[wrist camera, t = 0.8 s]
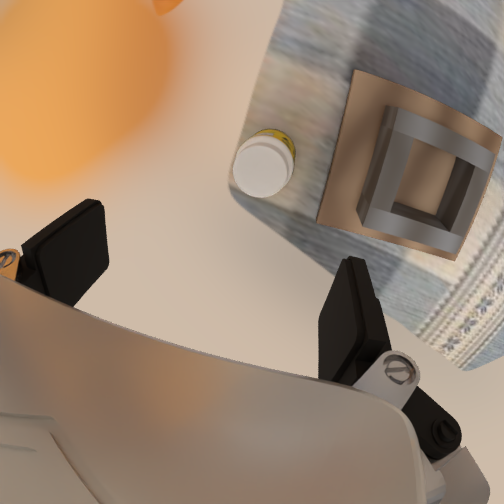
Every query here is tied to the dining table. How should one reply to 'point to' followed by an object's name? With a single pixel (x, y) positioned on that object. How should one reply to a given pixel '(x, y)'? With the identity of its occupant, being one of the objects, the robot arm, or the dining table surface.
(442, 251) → the pocket board
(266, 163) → the supplement bottle
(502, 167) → the dining table surface
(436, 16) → the dining table surface
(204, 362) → the robot arm
